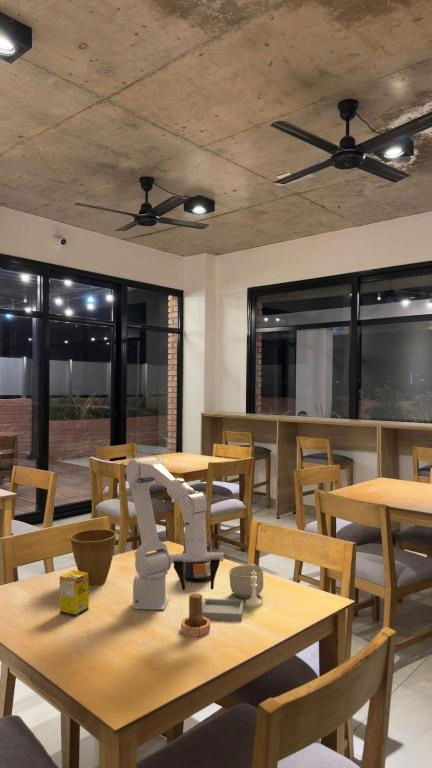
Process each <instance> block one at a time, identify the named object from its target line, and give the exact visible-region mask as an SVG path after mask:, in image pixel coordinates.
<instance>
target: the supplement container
mask: <svg viewBox="0 0 432 768" xmlns="http://www.w3.org/2000/svg"><path fill="white" fill-rule="evenodd" d="M206 544H207V552H213V550H212V541H210V540H207V539H206ZM181 553H186V544H185V541H184V542H183V550H182V552H181ZM210 562H211V561H201V562H184V575H185V581H187V582H191V583H203V582H208V581H211V573H210Z"/></svg>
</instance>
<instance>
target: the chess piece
mask: <svg viewBox="0 0 432 768" xmlns="http://www.w3.org/2000/svg"><path fill="white" fill-rule="evenodd" d="M251 574H253V576H251V580H252V584H251V585H250V586H252V595H251V598H248V599H246V600H245V605H246V606H248V607H250V608H251V607H252V608H259V607H261V606H262V605H263V601H262V600H261V599H260V598H258V595H257V596H256V586H257V584H256V580H257V576H255V574H256V575H257V573H255V570H253V572H251Z"/></svg>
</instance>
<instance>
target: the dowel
mask: <svg viewBox="0 0 432 768" xmlns="http://www.w3.org/2000/svg"><path fill="white" fill-rule="evenodd" d="M202 602H203V595H202V594H199V593H193V594H190V595H189V596H188V617H189V627H201V626H203V625H202Z"/></svg>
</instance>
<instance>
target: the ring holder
mask: <svg viewBox="0 0 432 768" xmlns="http://www.w3.org/2000/svg"><path fill="white" fill-rule="evenodd" d="M210 630H211V619H207V618H205V617H203V616H202V626H201V627H189V616H188V617H185V618H183V619H182V620H181V623H180V631H181V633H182V634H184V635H186V636H188V637H203V636H204V635H207V634H209V633H210Z"/></svg>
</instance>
